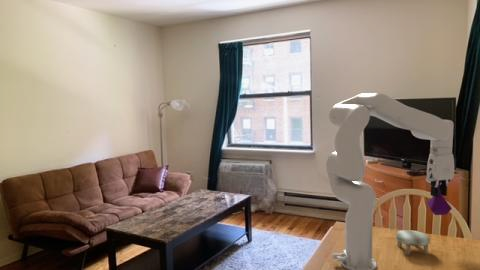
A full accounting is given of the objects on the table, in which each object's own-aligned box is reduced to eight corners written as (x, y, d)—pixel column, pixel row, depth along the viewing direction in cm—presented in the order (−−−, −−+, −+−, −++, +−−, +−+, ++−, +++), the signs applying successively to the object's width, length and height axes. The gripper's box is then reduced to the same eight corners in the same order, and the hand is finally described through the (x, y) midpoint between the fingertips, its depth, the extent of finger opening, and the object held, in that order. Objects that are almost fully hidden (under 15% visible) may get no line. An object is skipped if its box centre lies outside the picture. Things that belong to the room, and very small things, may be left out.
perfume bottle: (426, 209, 145) (423, 168, 141) (446, 208, 143) (444, 167, 139) (431, 217, 138) (428, 174, 134) (452, 216, 135) (449, 173, 132)
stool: (404, 257, 132) (404, 243, 132) (390, 244, 144) (391, 230, 143) (435, 256, 132) (436, 242, 131) (419, 243, 144) (419, 229, 143)
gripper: (433, 153, 130) (431, 200, 132) (465, 150, 136) (462, 195, 138) (417, 150, 137) (415, 195, 139) (447, 148, 143) (445, 191, 145)
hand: (438, 195), depth 138 cm, fingers closed on perfume bottle, 3 cm apart
